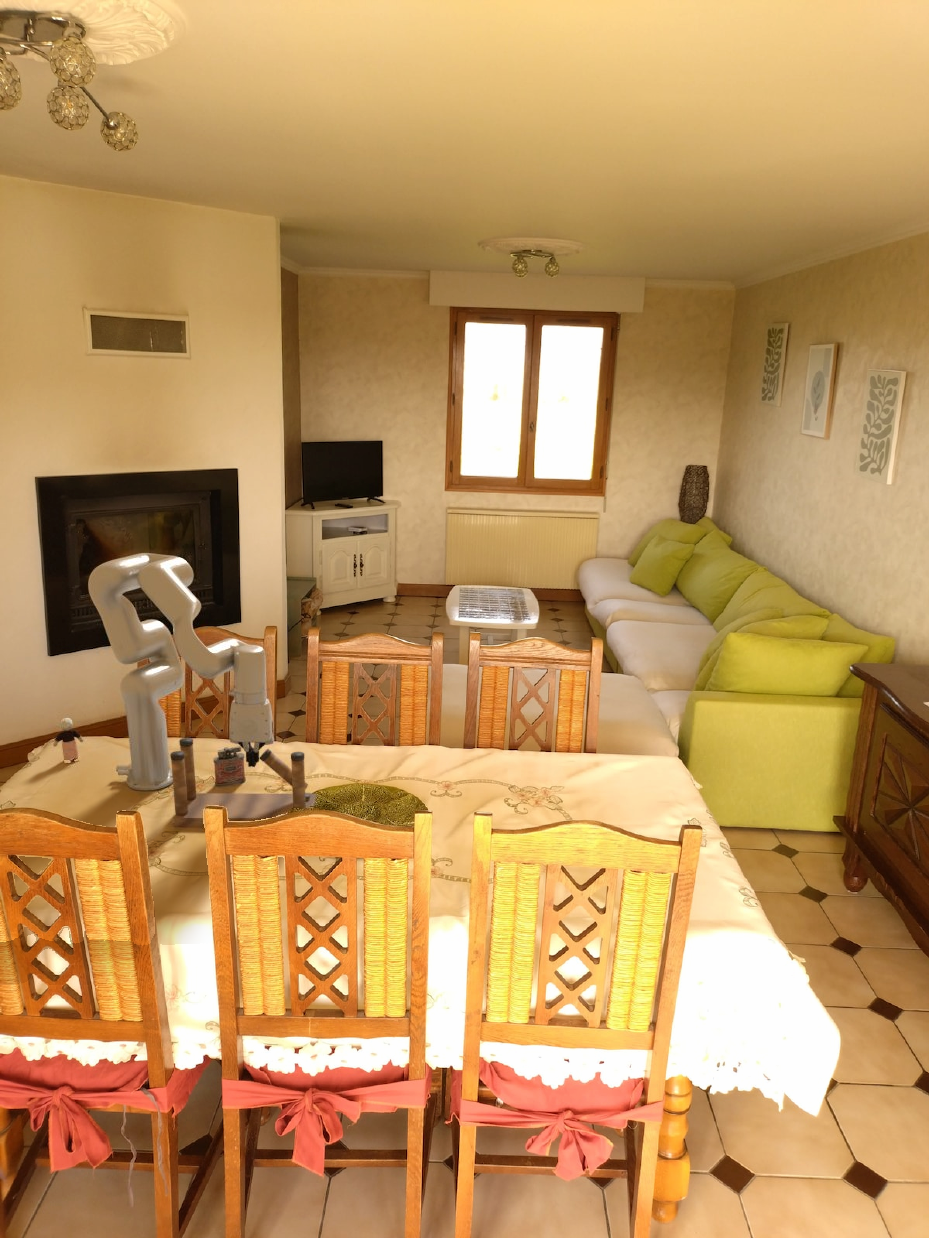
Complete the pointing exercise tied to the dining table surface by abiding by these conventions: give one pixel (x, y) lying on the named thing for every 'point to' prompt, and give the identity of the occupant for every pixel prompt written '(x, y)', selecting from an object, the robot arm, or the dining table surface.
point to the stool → (236, 803)
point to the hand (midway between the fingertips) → (252, 764)
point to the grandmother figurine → (68, 740)
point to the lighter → (229, 767)
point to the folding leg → (278, 766)
